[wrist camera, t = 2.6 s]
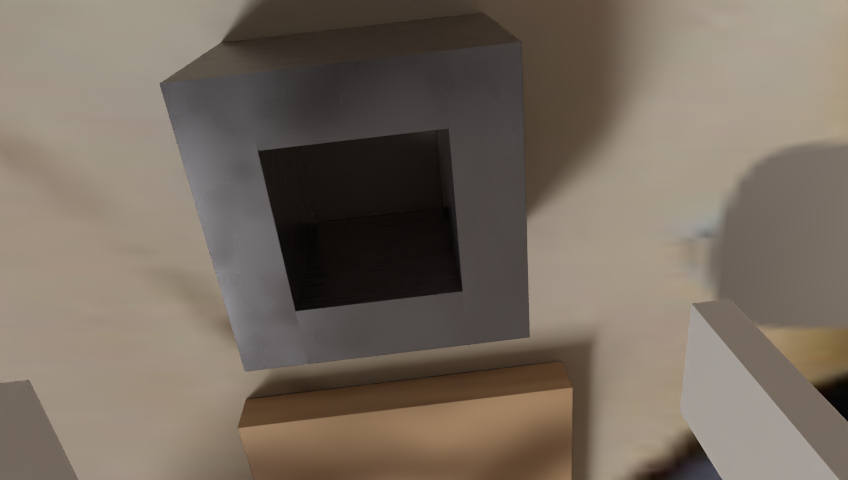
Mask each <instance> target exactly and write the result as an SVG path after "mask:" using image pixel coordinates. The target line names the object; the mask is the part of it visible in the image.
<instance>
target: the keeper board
mask: <svg viewBox="0 0 848 480" xmlns="http://www.w3.org/2000/svg"><path fill="white" fill-rule="evenodd" d="M572 399H573V387H572V385H571V383H570V380H569V378H568V375H567V373H566V371H565V368H564V366H563V364H562V361H560V362H551V363H543V364H535V365H527V366H518V367H510V368H502V369H494V370H485V371H477V372H469V373H460V374H452V375H444V376H436V377H427V378H419V379H411V380H403V381H394V382H386V383H378V384H369V385H361V386H353V387H345V388H336V389H328V390H320V391H312V392H303V393H295V394H287V395H278V396H270V397H262V398H254V399H246V401H245V404H244V408H243V411H242V415H241V418H240V422H239V425H238V431H239V434H240V437H241V441H242V444H243V447H244V450H245V453H246V456H247V459H248V462H249V466H250V469H251V472H252V475H253V478H254V480H571V479H572Z"/></svg>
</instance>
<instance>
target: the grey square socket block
mask: <svg viewBox="0 0 848 480" xmlns="http://www.w3.org/2000/svg"><path fill="white" fill-rule="evenodd" d="M160 87H161V90H162V93H163V97H164V100H165V103H166V107H167V110H168V114H169V117H170V120H171V124H172V127H173V130H174V134H175V137H176V141H177V144H178V147H179V151H180V154H181V157H182V161H183V164H184V168H185V171H186V174H187V178H188V181H189V184H190V188H191V191H192V195H193V198H194V201H195V205H196V208H197V211H198V215H199V218H200V222H201V225H202V228H203V232H204V235H205V238H206V242H207V245H208V249H209V252H210V255H211V259H212V262H213V265H214V269H215V272H216V276H217V279H218V282H219V286H220V289H221V292H222V296H223V299H224V303H225V306H226V309H227V313H228V316H229V319H230V323H231V326H232V330H233V333H234V336H235V340H236V343H237V346H238V350H239V353H240V357H241V360H242V363H243V367H244V370H245V371H254V370H262V369H270V368H278V367H287V366H295V365H303V364H312V363H320V362H328V361H337V360H345V359H353V358H361V357H370V356H378V355H386V354H395V353H403V352H411V351H420V350H428V349H436V348H444V347H453V346H461V345H469V344H478V343H486V342H494V341H503V340H511V339H519V338H527V337H530V334H529V298H528V261H527V225H526V189H525V152H524V116H523V79H522V43H521V41H520V40H518V39H517V38H516V37H515V36H513V35H512V34H511V33H509V32H508V31H507V30H505V29H504V28H503V27H501V26H500V25H499V24H498V23H496V22H495V21H494V20H492V19H491V18H490V17H488V16H487V15H486V14H485V13H477V14H468V15H460V16H451V17H442V18H434V19H425V20H416V21H408V22H399V23H390V24H382V25H373V26H364V27H356V28H347V29H338V30H330V31H321V32H312V33H303V34H295V35H286V36H277V37H269V38H260V39H251V40H243V41H234V42H225V43H220V44H218V45H217V46H215V47H214V48H212V49H211V50H209V51H208V52H206V53H205V54H203V55H202V56H200V57H199V58H197V59H196V60H194V61H193V62H191V63H190V64H188V65H187V66H185V67H184V68H182V69H181V70H179V71H178V72H176V73H175V74H173V75H172V76H170V77H169V78H167V79H166V80H164V81H163V82H161V83H160ZM431 130H436V132H437V143H438V154H439V164H440V175H441V185H442V196H443V206H444V207H443V208H434V209H426V210H417V211H409V212H400V213H392V214H383V215H375V216H366V217H358V218H349V219H341V220H333V221H324V222H316V221H315V216H314V211H313V206H312V201H311V196H310V191H309V186H308V181H307V176H306V171H305V166H304V161H303V157H302V152H301V147H300V146H303V145H312V144H320V143H329V142H337V141H346V140H354V139H363V138H371V137H380V136H389V135H397V134H406V133H414V132H423V131H431Z"/></svg>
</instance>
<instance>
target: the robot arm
mask: <svg viewBox="0 0 848 480" xmlns="http://www.w3.org/2000/svg"><path fill="white" fill-rule="evenodd" d="M680 412H681V414H682V415H683V417H684V419H685V420H686V422H687V423H688V425H689V427H690V428H691V430H692V431H693V433H694V435H695V436H696V438H697V439H698V441H699V443H700V444H701V446H702V448H703V449H704V451H705V452H706V454H707V456H708V457H709V459H710V460H711V462H712V464H713V465H714V467H715V468H716V470H717V472H718V473H719V475H720V476H721V478H722V480H848V422H847V421H846V420H845V419H844V418H843V417H842V416H841V415H840V413H839V412H838V411H837V410H836V409H835V408H834V407H833V406H832V405H831V404H830V403H829V402H828V401H827V400H826V399H825V398H824V397H823V396H822V395H821V394H820V393H819V392H818V391H817V389H816V388H815V387H814V386H813V385H812V384H811V383H810V382H809V381H808V380H807V379H806V378H805V377H804V376H803V375H802V374H801V373H800V372H799V371H798V370H797V369H796V368H795V366H794V365H793V364H792V363H791V362H790V361H789V360H788V359H787V358H786V357H785V356H784V355H783V354H782V353H781V352H780V351H779V350H778V349H777V348H776V347H775V346H774V345H773V343H772V342H771V341H770V340H769V339H768V338H767V337H766V336H765V335H764V334H763V333H762V332H761V331H760V330H759V329H758V328H757V327H756V326H755V325H754V324H753V323H752V322H751V321H750V319H749V318H748V317H747V316H746V315H745V314H744V313H743V312H742V311H741V310H740V309H739V308H738V307H737V306H736V305H735V304H734V303H733V302H732V301H731V300H730V299H727V300H719V301H710V302H701V303H693V304H691V313H690V322H689V331H688V340H687V349H686V358H685V367H684V377H683V386H682V395H681V404H680ZM0 480H78V478H77V476H76V474H75V472H74V470H73V468H72V466H71V464H70V462H69V460H68V458H67V456H66V454H65V452H64V450H63V448H62V446H61V444H60V442H59V440H58V437H57V435H56V433H55V431H54V429H53V427H52V425H51V423H50V421H49V419H48V417H47V415H46V413H45V411H44V409H43V407H42V405H41V403H40V401H39V399H38V397H37V395H36V393H35V391H34V389H33V387H32V385H31V383H30V381H29V380H24V381H15V382H7V383H0Z"/></svg>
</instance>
